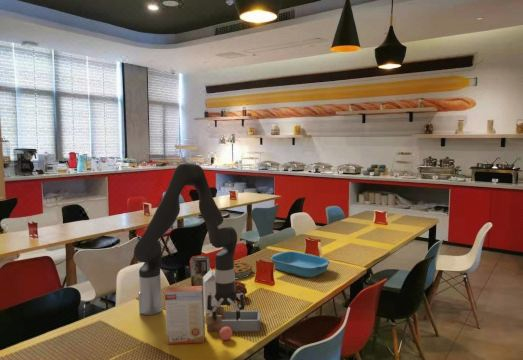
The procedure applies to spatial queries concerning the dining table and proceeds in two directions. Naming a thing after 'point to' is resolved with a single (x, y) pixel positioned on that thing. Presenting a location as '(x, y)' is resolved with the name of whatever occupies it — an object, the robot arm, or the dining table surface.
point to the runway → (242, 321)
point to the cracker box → (185, 315)
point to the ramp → (216, 324)
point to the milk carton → (209, 289)
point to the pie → (241, 269)
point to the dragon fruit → (240, 288)
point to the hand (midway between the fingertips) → (226, 319)
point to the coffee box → (199, 269)
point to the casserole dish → (300, 263)
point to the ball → (226, 333)
